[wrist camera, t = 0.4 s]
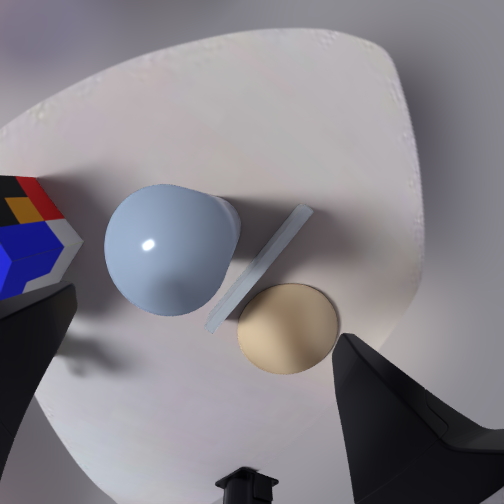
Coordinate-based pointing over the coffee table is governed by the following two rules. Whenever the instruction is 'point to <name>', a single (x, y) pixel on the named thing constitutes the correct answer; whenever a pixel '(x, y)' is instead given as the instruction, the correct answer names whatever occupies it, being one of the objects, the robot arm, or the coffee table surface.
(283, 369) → the cork coaster
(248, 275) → the acrylic wall
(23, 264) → the puzzle toy
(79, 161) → the coffee table surface
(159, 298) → the pale blue domed part
